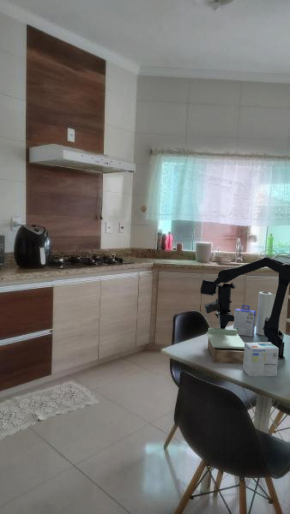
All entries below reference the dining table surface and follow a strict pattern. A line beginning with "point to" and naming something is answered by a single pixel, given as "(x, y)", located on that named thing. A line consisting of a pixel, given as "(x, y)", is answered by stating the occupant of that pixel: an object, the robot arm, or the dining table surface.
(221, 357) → the box
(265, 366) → the light bulb box
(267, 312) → the paper towel roll
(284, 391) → the dining table surface
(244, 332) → the ink cartridge box
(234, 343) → the lid
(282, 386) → the dining table surface
